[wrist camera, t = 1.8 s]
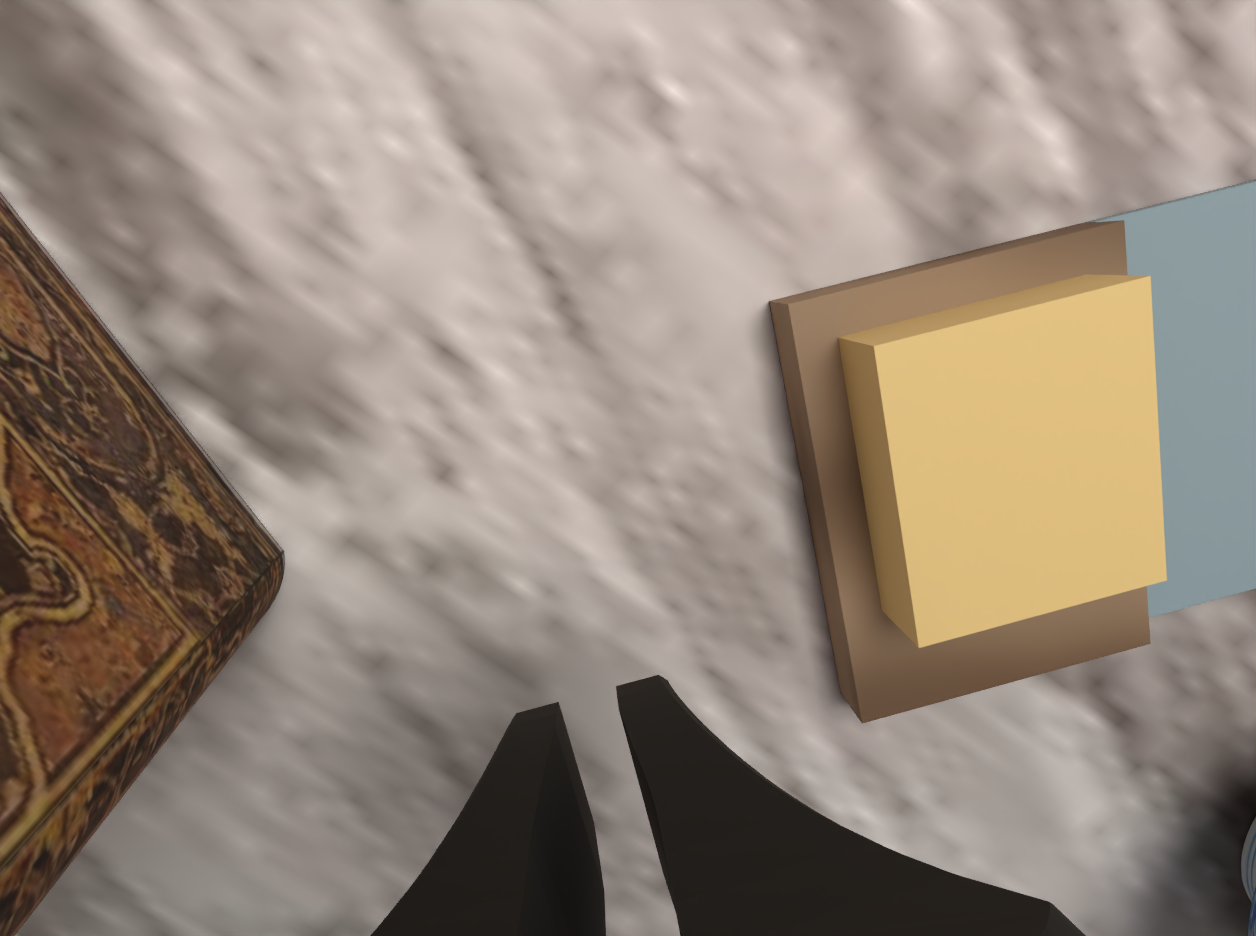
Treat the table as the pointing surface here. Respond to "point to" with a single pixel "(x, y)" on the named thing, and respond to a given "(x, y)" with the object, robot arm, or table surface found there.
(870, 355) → the tile
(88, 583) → the book
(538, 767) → the robot arm
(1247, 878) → the chinaware
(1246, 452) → the mat
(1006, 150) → the table surface
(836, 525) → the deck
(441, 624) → the table surface
